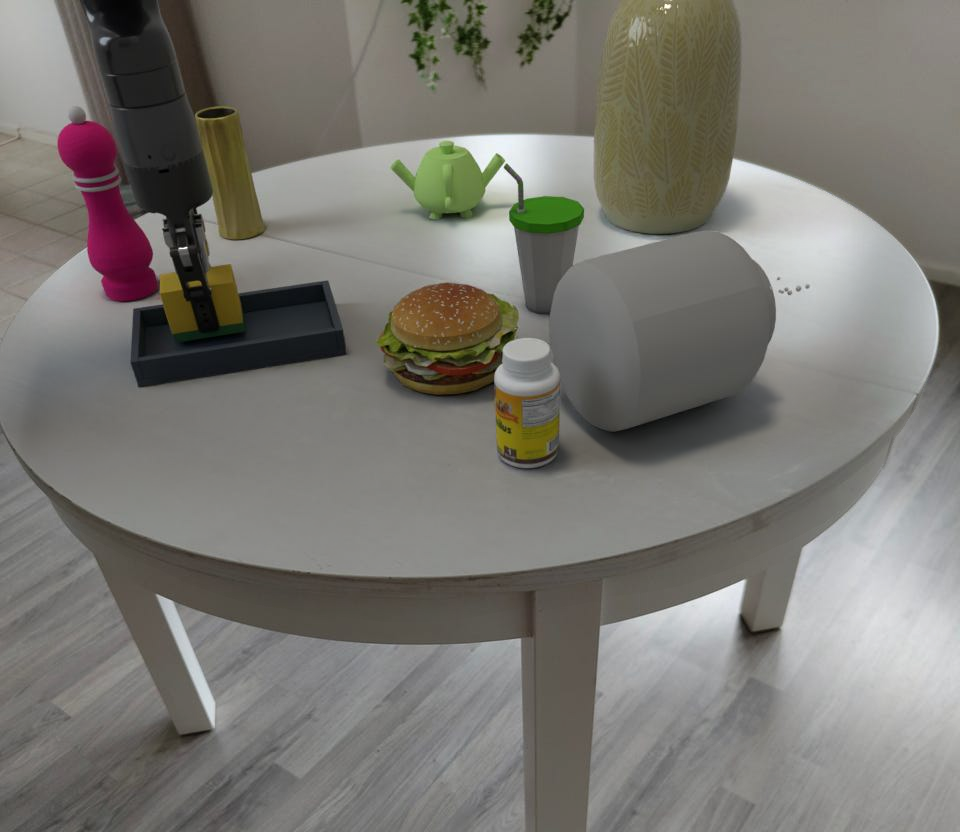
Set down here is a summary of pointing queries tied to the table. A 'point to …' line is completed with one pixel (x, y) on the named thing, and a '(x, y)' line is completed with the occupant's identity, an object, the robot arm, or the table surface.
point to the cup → (544, 242)
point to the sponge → (223, 300)
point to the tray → (241, 336)
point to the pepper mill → (106, 210)
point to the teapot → (448, 179)
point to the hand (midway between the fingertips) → (209, 318)
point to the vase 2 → (667, 112)
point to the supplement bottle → (527, 404)
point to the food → (447, 338)
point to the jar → (660, 328)
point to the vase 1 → (229, 173)
